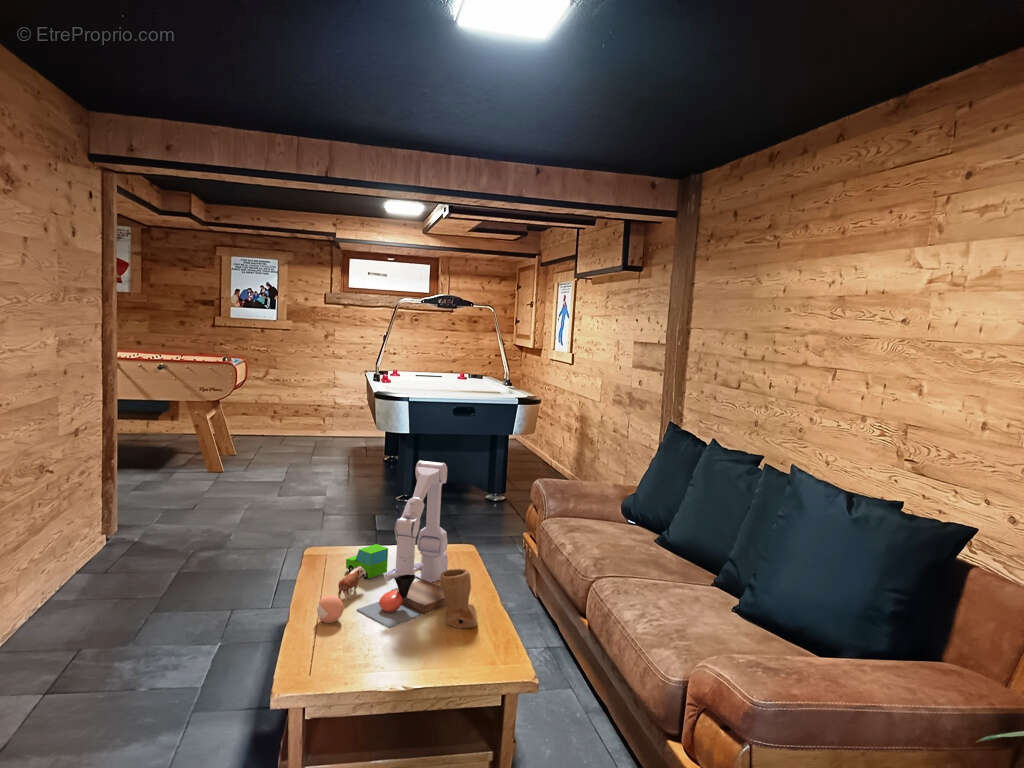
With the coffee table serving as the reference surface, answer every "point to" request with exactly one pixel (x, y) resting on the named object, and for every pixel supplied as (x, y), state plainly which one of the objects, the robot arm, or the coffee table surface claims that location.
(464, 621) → the brown boot
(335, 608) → the egg
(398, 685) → the coffee table surface
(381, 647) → the coffee table surface
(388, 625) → the mat
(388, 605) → the red ball
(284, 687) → the coffee table surface
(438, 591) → the board
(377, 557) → the toy car
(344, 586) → the bull figurine
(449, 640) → the coffee table surface
